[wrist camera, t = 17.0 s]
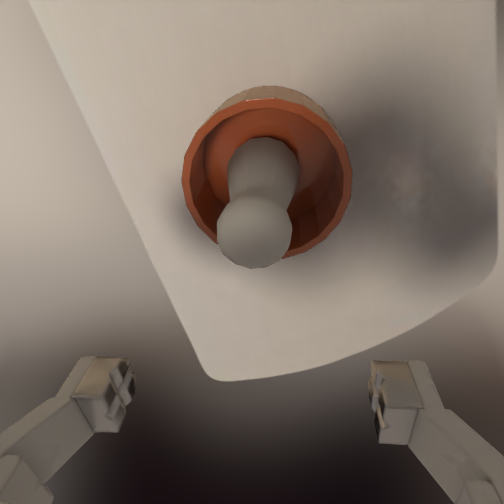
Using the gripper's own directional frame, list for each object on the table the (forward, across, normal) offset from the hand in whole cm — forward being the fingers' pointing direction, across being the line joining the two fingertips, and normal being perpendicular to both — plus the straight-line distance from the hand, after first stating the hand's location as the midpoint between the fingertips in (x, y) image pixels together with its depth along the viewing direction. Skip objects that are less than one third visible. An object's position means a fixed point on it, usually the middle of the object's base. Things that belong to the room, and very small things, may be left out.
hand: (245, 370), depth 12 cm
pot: (+22, 0, 0) cm, 22 cm away
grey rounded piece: (+22, +1, 0) cm, 22 cm away
